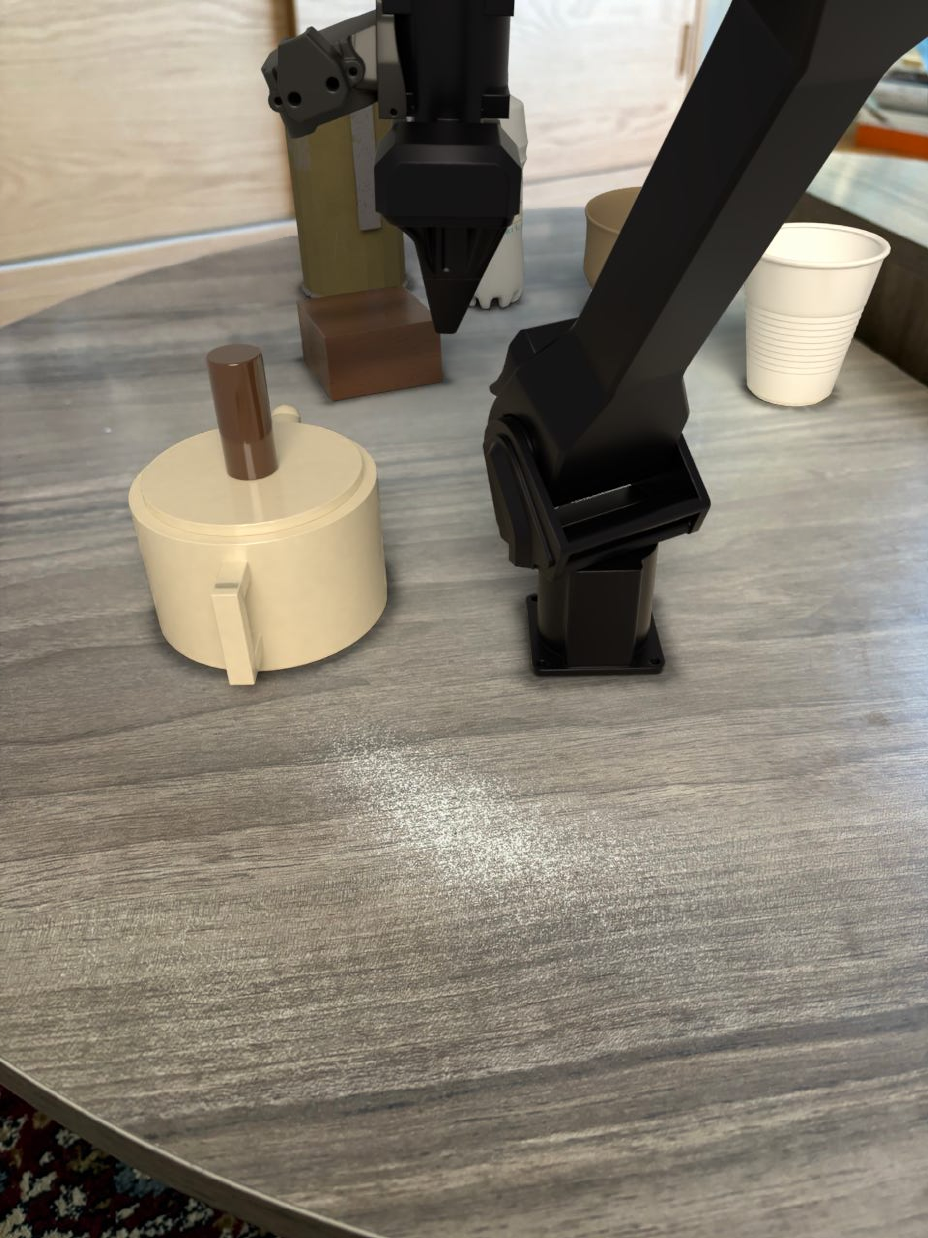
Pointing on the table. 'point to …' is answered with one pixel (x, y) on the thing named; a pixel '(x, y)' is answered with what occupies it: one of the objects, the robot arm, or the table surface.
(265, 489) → the lid
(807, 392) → the cup
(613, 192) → the bowl
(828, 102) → the robot arm
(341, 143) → the canister
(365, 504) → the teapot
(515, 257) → the bottle
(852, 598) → the table surface
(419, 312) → the stand
